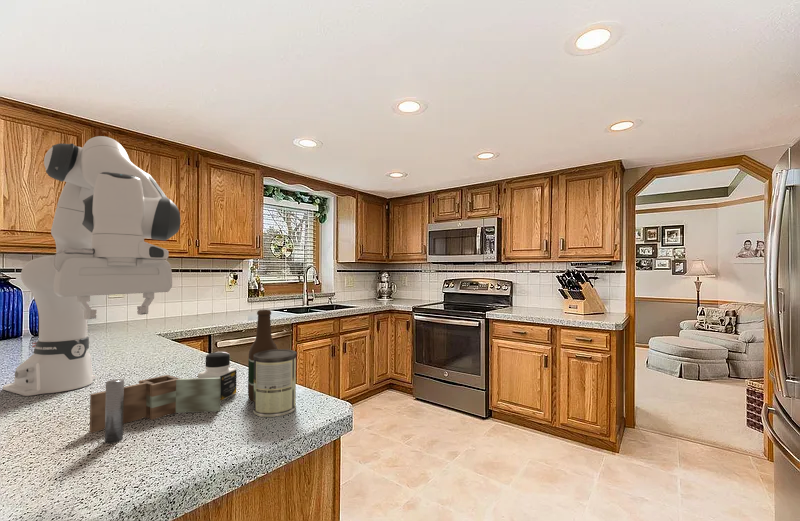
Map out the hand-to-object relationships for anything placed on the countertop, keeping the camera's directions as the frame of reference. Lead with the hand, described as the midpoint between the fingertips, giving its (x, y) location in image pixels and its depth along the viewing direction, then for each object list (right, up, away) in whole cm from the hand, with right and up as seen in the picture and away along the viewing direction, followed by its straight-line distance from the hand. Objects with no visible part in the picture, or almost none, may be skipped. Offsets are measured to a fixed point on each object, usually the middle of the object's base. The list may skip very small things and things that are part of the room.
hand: (117, 316), depth 81 cm
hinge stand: (+2, -25, +11) cm, 28 cm away
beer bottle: (+21, -26, +26) cm, 42 cm away
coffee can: (+27, -26, +17) cm, 41 cm away
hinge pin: (0, -25, -1) cm, 25 cm away
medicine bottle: (+8, -26, +27) cm, 38 cm away
